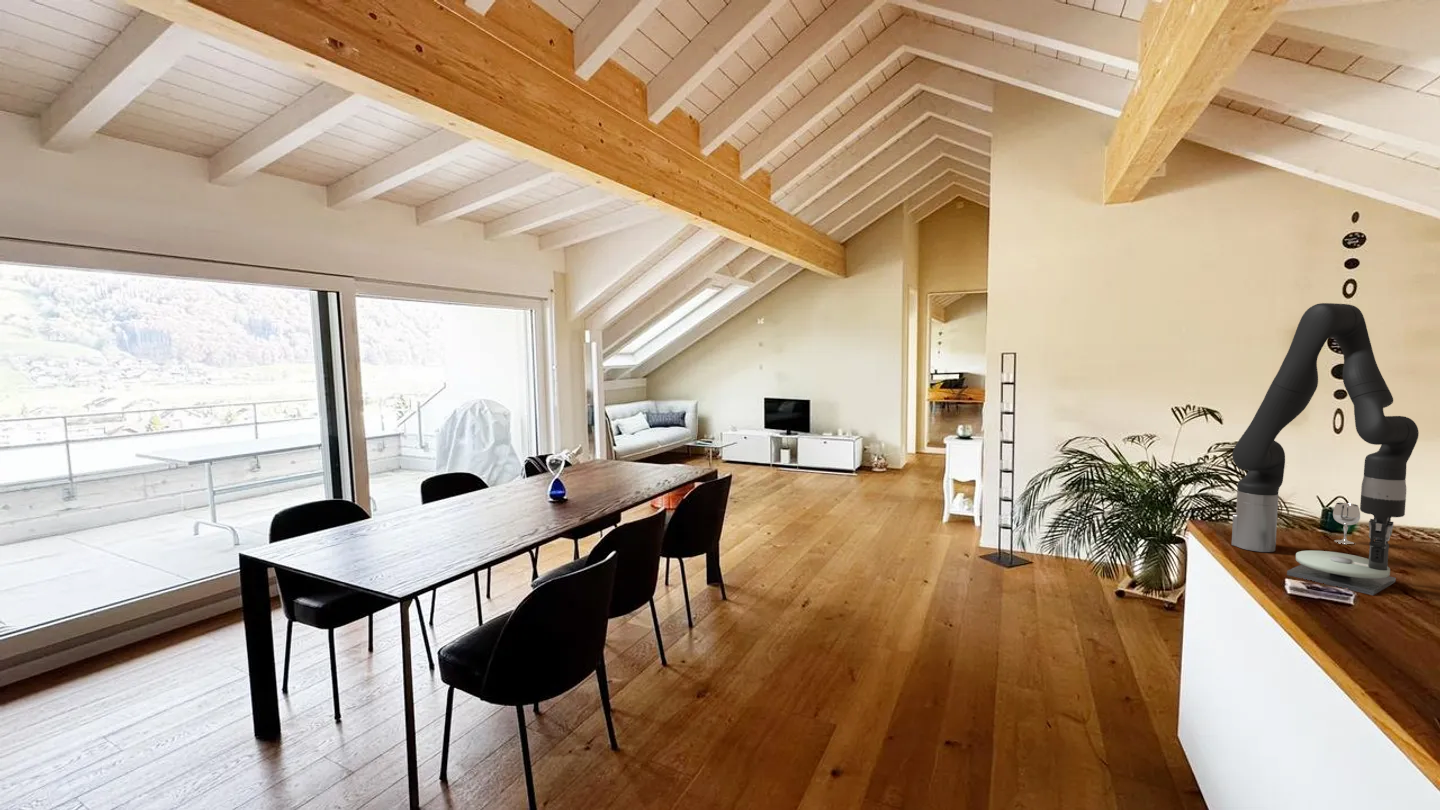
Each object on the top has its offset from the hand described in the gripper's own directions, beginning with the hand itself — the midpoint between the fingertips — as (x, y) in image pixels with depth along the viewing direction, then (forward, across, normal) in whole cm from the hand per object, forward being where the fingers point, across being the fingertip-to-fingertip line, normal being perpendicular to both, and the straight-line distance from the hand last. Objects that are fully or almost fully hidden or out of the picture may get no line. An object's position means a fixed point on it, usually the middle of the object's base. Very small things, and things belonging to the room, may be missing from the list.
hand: (1378, 558), depth 150 cm
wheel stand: (+7, 0, +6) cm, 10 cm away
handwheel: (+4, 0, +7) cm, 8 cm away
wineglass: (+7, +41, +9) cm, 43 cm away
